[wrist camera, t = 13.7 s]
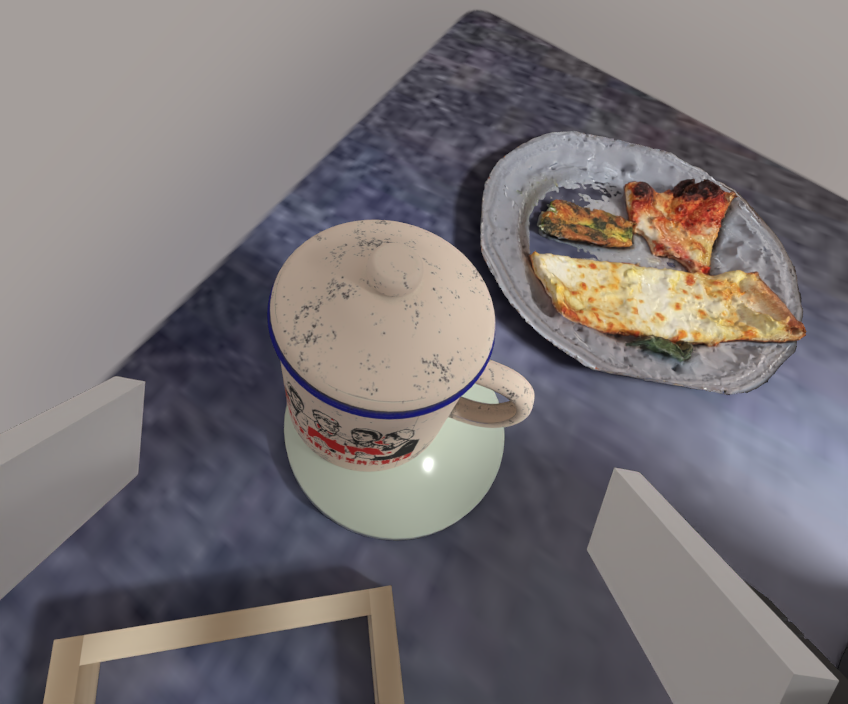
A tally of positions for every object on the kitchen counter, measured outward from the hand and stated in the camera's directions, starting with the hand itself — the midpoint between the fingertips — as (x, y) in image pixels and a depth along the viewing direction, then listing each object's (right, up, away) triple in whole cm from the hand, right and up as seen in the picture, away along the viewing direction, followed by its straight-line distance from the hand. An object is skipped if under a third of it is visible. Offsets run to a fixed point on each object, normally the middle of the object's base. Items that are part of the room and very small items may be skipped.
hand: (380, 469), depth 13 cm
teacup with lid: (0, 0, +13) cm, 13 cm away
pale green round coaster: (0, -1, +14) cm, 14 cm away
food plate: (+17, +10, +24) cm, 31 cm away
